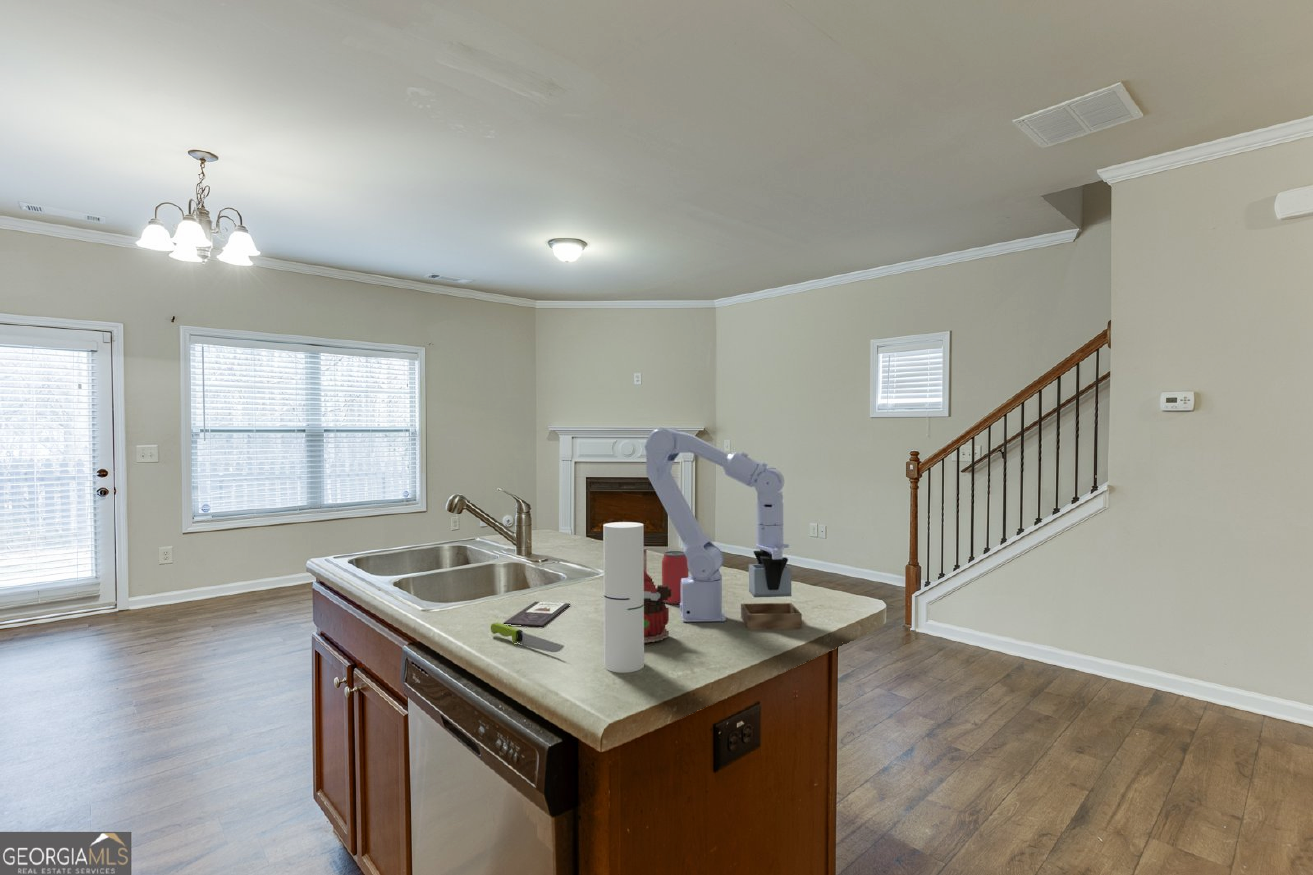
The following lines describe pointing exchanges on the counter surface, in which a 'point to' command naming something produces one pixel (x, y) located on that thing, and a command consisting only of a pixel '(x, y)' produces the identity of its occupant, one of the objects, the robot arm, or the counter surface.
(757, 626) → the walnut crate
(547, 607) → the chocolate bar
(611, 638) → the cylindrical container
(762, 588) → the grey crate
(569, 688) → the counter surface
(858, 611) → the counter surface
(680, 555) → the beer can
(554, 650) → the kitchen knife
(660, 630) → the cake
